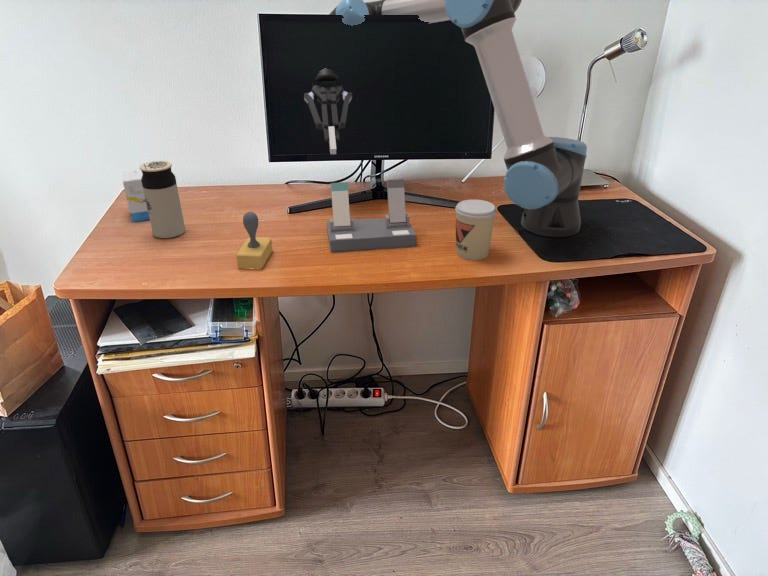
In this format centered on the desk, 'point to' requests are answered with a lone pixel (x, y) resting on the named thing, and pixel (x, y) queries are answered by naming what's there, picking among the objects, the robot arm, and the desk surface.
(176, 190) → the travel mug
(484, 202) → the coffee cup
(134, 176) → the ink box
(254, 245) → the rubber stamp
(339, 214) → the cream paddle
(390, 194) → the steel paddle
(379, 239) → the control panel
